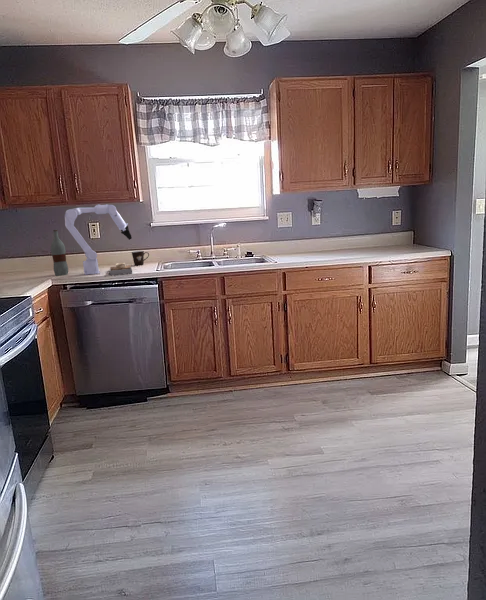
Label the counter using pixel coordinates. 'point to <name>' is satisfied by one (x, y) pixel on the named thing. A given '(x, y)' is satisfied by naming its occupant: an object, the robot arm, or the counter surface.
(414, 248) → the counter surface
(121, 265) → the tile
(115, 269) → the plate
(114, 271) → the box
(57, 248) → the bottle
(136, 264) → the coffee mug
